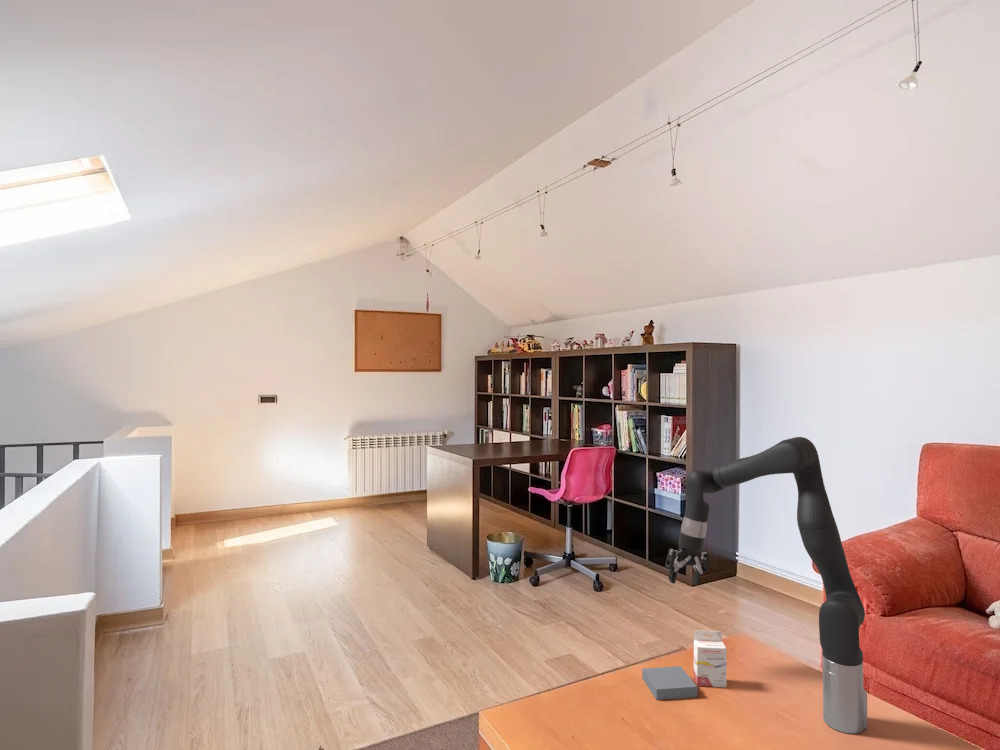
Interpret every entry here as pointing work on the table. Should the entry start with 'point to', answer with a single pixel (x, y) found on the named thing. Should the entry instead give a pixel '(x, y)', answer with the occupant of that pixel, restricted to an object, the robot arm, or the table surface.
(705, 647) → the ink cartridge box
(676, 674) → the slate plate
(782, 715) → the table surface
